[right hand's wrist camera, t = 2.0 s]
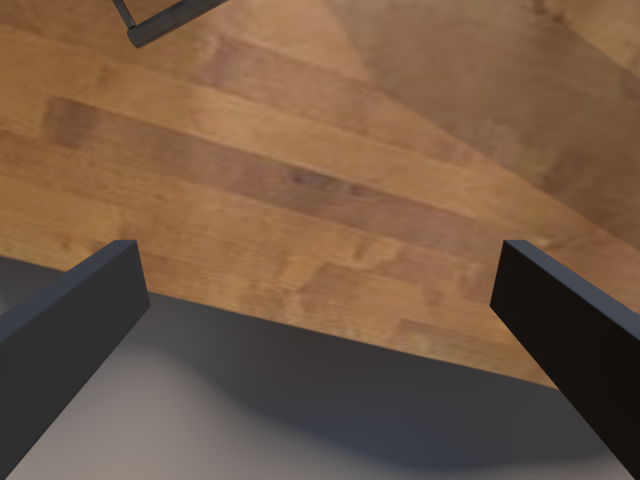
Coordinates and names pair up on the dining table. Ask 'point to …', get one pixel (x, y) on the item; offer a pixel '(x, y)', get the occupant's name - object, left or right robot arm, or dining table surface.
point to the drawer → (164, 19)
